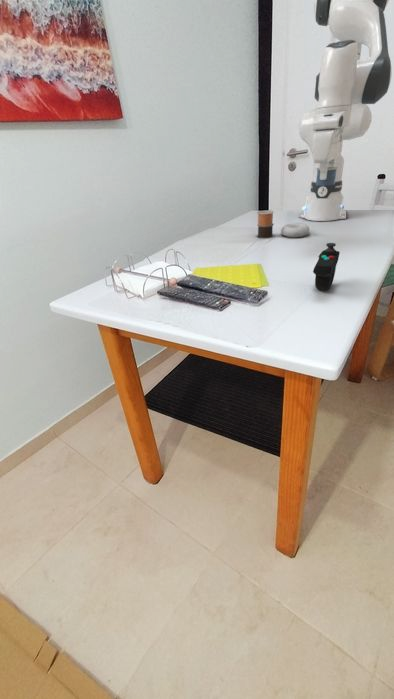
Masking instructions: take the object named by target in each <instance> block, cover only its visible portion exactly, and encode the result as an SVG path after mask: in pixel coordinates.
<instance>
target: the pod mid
mask: <svg viewBox="0 0 394 699" xmlns="http://www.w3.org/2000/svg"><path fill="white" fill-rule="evenodd" d="M274 213H275V210H270V209H269V210H268V209H267V210H266V209H265V210H259V211H257V225H260V226H269V225H272V223H273V219H274Z"/></svg>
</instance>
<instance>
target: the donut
mask: <svg viewBox="0 0 394 699" xmlns="http://www.w3.org/2000/svg"><path fill="white" fill-rule="evenodd" d="M280 233H281V234H282V236H284V237H287V238H302V237H303V238H304V237H306V236H307V235H308V234H309V233H310V227H309V226H308V225H307V224H305V223H288V224H285V225H283V226H282V227H281V229H280Z"/></svg>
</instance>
